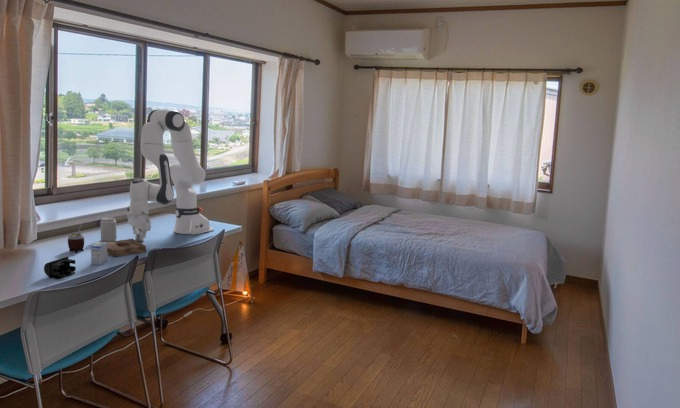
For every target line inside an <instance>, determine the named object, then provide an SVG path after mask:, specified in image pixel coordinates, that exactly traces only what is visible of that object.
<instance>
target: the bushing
mask: <svg viewBox="0 0 680 408" xmlns="http://www.w3.org/2000/svg"><path fill="white" fill-rule="evenodd" d="M141 234H142V230H140V229H138V228H137V227H135V234H134V237H135V238H134V240H136V241H138V242H140V243H141V244H143V243H145V241H144V239H145V238H141Z"/></svg>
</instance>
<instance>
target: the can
mask: <svg viewBox="0 0 680 408" xmlns="http://www.w3.org/2000/svg"><path fill="white" fill-rule="evenodd" d="M99 225H100V240H101V242H112V241H117V239H118V237H117V220H116V218H115V217H112V216H109V217H107V216H105V217H102V218H101V220H100V224H99Z"/></svg>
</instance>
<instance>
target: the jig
mask: <svg viewBox="0 0 680 408" xmlns="http://www.w3.org/2000/svg"><path fill="white" fill-rule="evenodd" d="M146 252H147V245H145V244H143V243H140V242H138V241H136V240H135V238H134V239H133V238H128V239H120V240H115V241H112V242H107V255H110V256H111V257H113V258H114V257H116V258H117V257H121V256H127V255H135V254H141V253H146Z"/></svg>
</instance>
